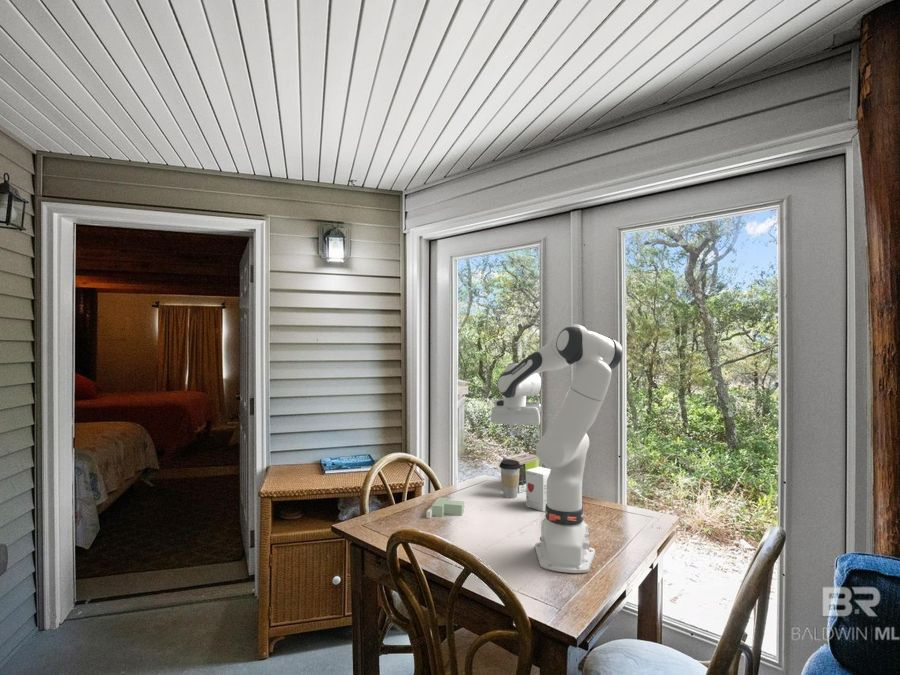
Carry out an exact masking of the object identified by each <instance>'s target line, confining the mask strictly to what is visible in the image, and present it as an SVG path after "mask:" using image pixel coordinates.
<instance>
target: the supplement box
mask: <svg viewBox="0 0 900 675" xmlns="http://www.w3.org/2000/svg"><path fill="white" fill-rule="evenodd" d="M550 470H551V468H548V467H547V468H546V467H542V466H539V467H536V468H532V469H528V470H526V491H525V492H526V493H525V494H526V496H525V497H526V498H525V502H526V503H525V506H526V507H528V508H531V509H535V510H537V511H540V512H544V513H545V508H546V504H547V479H548V476H549V474H550Z"/></svg>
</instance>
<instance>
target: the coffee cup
mask: <svg viewBox="0 0 900 675" xmlns="http://www.w3.org/2000/svg"><path fill="white" fill-rule="evenodd" d="M498 467H499V468H500V478H501V485H502V493H503V494H502V495H503V497H504V498H506V499H515V498H517V497H518V493H517V492H518V485H519V474H520V473H519V470H520V468H521V466H520V464H519V462H518V461H515V460H503V459H502V460H501V461H500V463H499V465H498Z"/></svg>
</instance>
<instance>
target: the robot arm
mask: <svg viewBox="0 0 900 675" xmlns="http://www.w3.org/2000/svg"><path fill="white" fill-rule="evenodd" d="M622 358H623V348H622V345H621V344H620V343H619V342H618V341H616V340H615V339H613V338H610V337H606V336H605V335H602V334H599V333H597V332H595V331H592V330H588V329H587V328H586V327H584V326H583V325H581V324H577V323H574V324H570V325H568V326H566V327H564V328H563V329H562V330H560V331H559V332H558V333H557V334H556V335H555V336H554V337H552V339H551V340H549V341H548V342H546V343H545V345H543V346H542V347H541V348H539V349H537V350H536V351H534V352H532V353H531V354H530V355H527V356H526V357H525V358H524V359H523V360H521V361H519V362H512V363H511V362H510V363H508V364H507V365H506V366H505V367H506V368H505V371H503V372H502V373H501V374H500V376H499V377H498V379H497V383H496V387H497V389H498V392H499V393H500V394H501V395H502V396H503V397H501V398H498V399H495V400H494V401H493V408H492V409H491V414H490V415H491V416H490V422H491V423H492V424H495V425H508V428H509V429H510V431H511V435H512V436H520V431H521V428H522V427H523V426H540V424H541V414H540V413H541V412H542V406H541V404H540V403H538V402H530V401H527V397H528V396H529V397H530V396H531V397H533V396H537V395H538V394H540V392H542V389H543V379H542V376H541V375H540V373H543V372H550V371H551V372H552V371H558V370H563V369H565V368H567V367H569V366H570V365H573V364H574V365H575V367H576V368H575V370H576V371H575V374H574V376H573V378H572V381H571V382H570V385H569V387H568V390H567V392H566V394H565V396H564V399H563V401H562V404H561V406H560V408H559V409H558V411H557V413H556V415H555V416H554V417H553V419H552V421H551V422H550V424H549V425H548V427H547V429H546V431H545V433H544V434H543V435H542V436H541V438H539V440H538V442H537V444H536V448H535V453H536V455H537V457H538V459H539V462H540V463H541V464H543V466H544V467H547V468H550V469H551V470H550V474H549V476H548V479H547V504H546V508H545V511H544V513H545V515H544V516H545V518H543V519H542V520H541V523H540V524H541V525H540V526H541V527H540V530H541V531H540V532H541V534H540V537H539V541H538V542H535V543H534V549H535V553H536V556H537V559H538V563H539V566H540V567H541V568H543V569H546V570H549V571H554V572H561V573H569V574H570V573H571V574H584V573H585V574H586V573H588V572H589V570H590V568H591V565H592V562H593V560H594V557H595V556H596V550H595V549H594V548H592V547H591V541H589V539H590V533H589V525H588V524H587V523H586V522H585V521H584V520H585V518H584V515H585V511H584V506H583V478H584V477H583V476H584V472H585V466H586V460H587V453H588V450H589V447H590V438H589V435H588V434H587V432H588V431H589V429H590V428H591V427H592V426H593V424H594V423H595V420H596V419H597V417H598V414H599V412H600V409H601V407H602V405H603V404H604V400H605V397H606V395H607V392H608V391H609V387H610V383H611V380H612V379H611V378H612V375H613V374H612V370H613V369H615V368H617V366H619V364H620V362H622V361H621V360H622ZM514 425H517V428H518V429H517V430H515V429H514V428H513V427H514Z"/></svg>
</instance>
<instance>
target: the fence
mask: <svg viewBox="0 0 900 675" xmlns="http://www.w3.org/2000/svg"><path fill="white" fill-rule="evenodd" d="M439 498H440V497H438V498H437V499H436V500H435V501H434V503H435V502H436V501H437V500H438V499H439ZM449 501H457V502H464V508H465V507H466V501H465V500H464V499H463V500H462V499H453V498H452V499H451V498H449ZM434 503H433V504H434ZM432 517H433V516H432V505H431V506H430V507H429V508H428V509H427V510H426V519H431V518H432Z"/></svg>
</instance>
